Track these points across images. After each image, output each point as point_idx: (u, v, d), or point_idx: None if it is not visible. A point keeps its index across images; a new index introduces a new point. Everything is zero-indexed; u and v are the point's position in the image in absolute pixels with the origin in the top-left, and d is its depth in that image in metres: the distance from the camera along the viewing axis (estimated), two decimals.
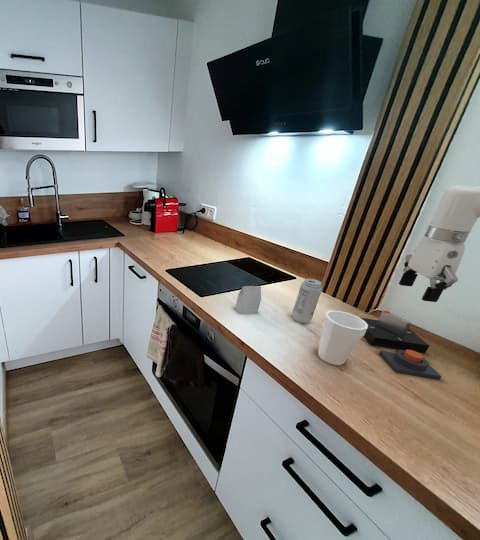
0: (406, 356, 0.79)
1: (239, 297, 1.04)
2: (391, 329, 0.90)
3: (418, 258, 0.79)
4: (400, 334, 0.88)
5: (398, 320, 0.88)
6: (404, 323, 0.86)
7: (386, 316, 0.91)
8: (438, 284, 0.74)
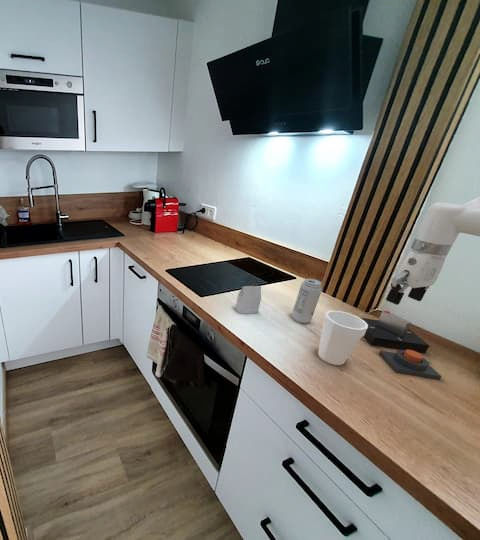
0: (406, 356, 0.79)
1: (239, 297, 1.04)
2: (391, 329, 0.90)
3: None
4: (400, 334, 0.88)
5: (398, 320, 0.88)
6: (404, 323, 0.86)
7: (386, 316, 0.91)
8: None
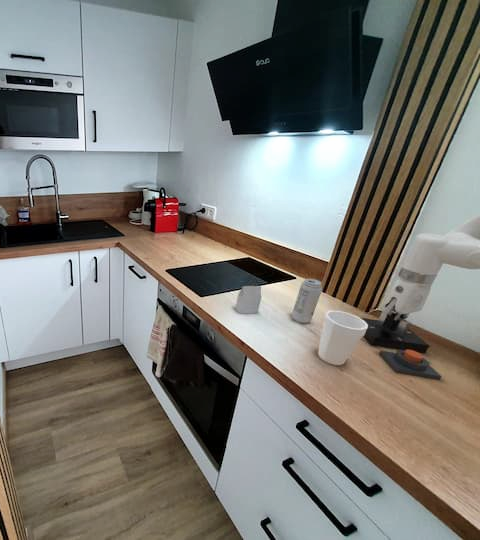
0: (406, 356, 0.79)
1: (239, 297, 1.04)
2: None
3: None
4: (400, 334, 0.88)
5: (398, 320, 0.88)
6: (404, 323, 0.86)
7: None
8: None
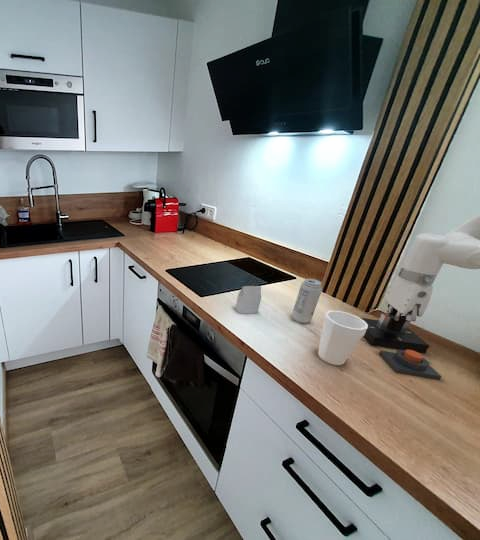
0: (406, 356, 0.79)
1: (239, 297, 1.04)
2: None
3: (393, 294, 0.88)
4: (404, 331, 0.89)
5: None
6: None
7: (389, 319, 0.89)
8: (400, 318, 0.86)
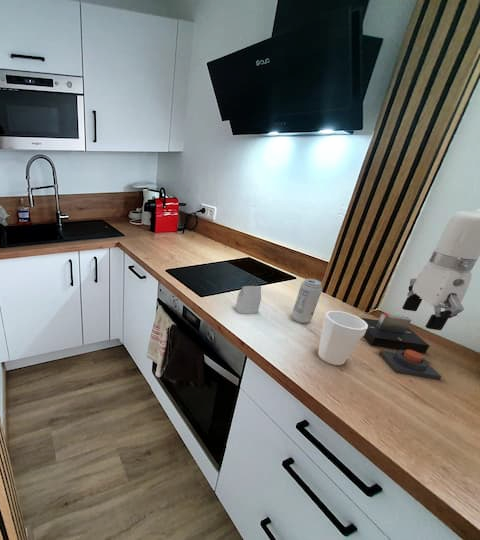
0: (406, 356, 0.79)
1: (239, 297, 1.04)
2: (395, 329, 0.90)
3: (422, 283, 0.76)
4: (404, 331, 0.89)
5: (402, 320, 0.88)
6: (408, 321, 0.88)
7: (389, 319, 0.89)
8: (443, 313, 0.71)
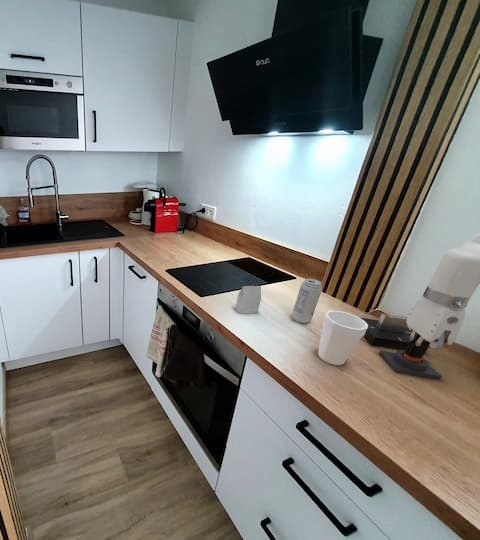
0: None
1: (239, 297, 1.04)
2: (395, 329, 0.90)
3: (417, 318, 0.76)
4: (404, 331, 0.89)
5: (402, 320, 0.88)
6: None
7: (389, 319, 0.89)
8: (422, 343, 0.75)
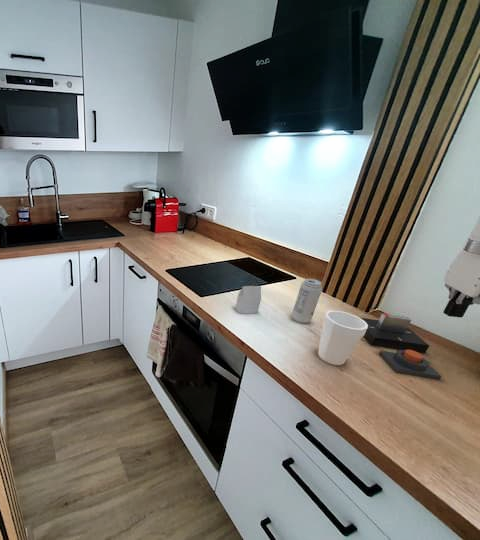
0: (406, 356, 0.79)
1: (239, 297, 1.04)
2: (395, 329, 0.90)
3: (456, 274, 0.72)
4: (404, 331, 0.89)
5: (402, 320, 0.88)
6: (408, 321, 0.88)
7: (389, 319, 0.89)
8: (464, 300, 0.71)
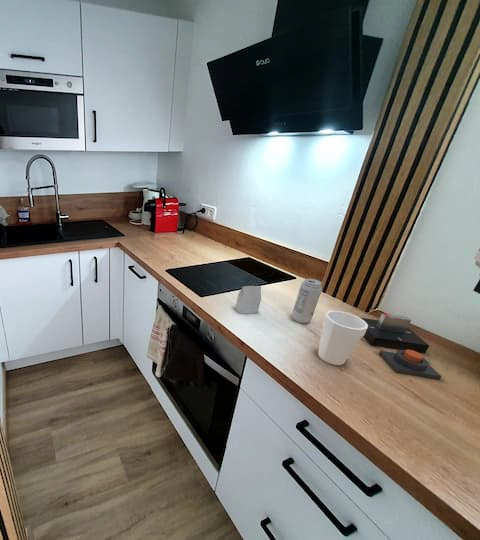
0: (406, 356, 0.79)
1: (239, 297, 1.04)
2: (395, 329, 0.90)
3: None
4: (404, 331, 0.89)
5: (402, 320, 0.88)
6: (408, 321, 0.88)
7: (389, 319, 0.89)
8: None
